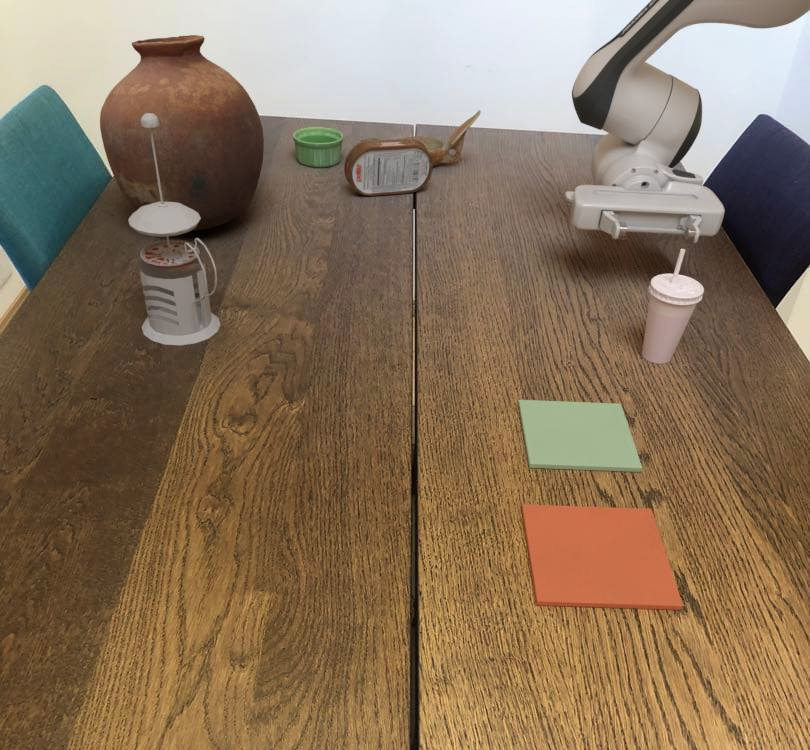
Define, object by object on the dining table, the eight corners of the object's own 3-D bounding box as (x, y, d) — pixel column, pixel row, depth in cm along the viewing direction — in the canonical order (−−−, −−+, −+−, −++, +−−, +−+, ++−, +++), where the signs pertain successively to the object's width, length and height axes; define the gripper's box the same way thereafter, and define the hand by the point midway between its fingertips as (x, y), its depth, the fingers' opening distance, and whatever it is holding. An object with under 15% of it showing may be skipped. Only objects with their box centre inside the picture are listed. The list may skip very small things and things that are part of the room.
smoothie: (627, 341, 107) (655, 236, 97) (676, 344, 107) (708, 240, 97) (635, 368, 102) (665, 260, 92) (686, 371, 102) (722, 263, 92)
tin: (427, 186, 142) (430, 135, 137) (433, 193, 140) (436, 141, 134) (343, 193, 138) (343, 140, 133) (348, 200, 136) (348, 147, 131)
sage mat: (620, 407, 95) (621, 403, 95) (641, 472, 87) (642, 467, 86) (517, 403, 95) (518, 399, 95) (529, 468, 86) (529, 463, 86)
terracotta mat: (649, 513, 82) (651, 508, 82) (681, 610, 73) (683, 605, 72) (521, 508, 82) (522, 503, 81) (536, 605, 72) (537, 601, 72)
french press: (182, 299, 109) (151, 93, 92) (247, 327, 105) (227, 117, 87) (124, 327, 103) (80, 113, 86) (190, 359, 99) (157, 139, 81)
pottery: (227, 263, 117) (206, 68, 100) (88, 234, 122) (45, 43, 105) (293, 207, 133) (285, 30, 116) (167, 183, 138) (142, 10, 121)
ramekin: (293, 151, 152) (292, 126, 149) (342, 152, 153) (342, 126, 150) (294, 169, 145) (293, 143, 142) (344, 169, 146) (344, 143, 143)
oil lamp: (472, 178, 146) (478, 117, 139) (355, 165, 148) (355, 105, 141) (477, 161, 152) (483, 103, 146) (365, 149, 154) (366, 91, 148)
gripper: (566, 167, 113) (582, 207, 103) (712, 175, 114) (741, 215, 104) (558, 212, 117) (572, 255, 107) (698, 220, 118) (725, 262, 108)
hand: (657, 235), depth 106 cm, fingers open, 8 cm apart
